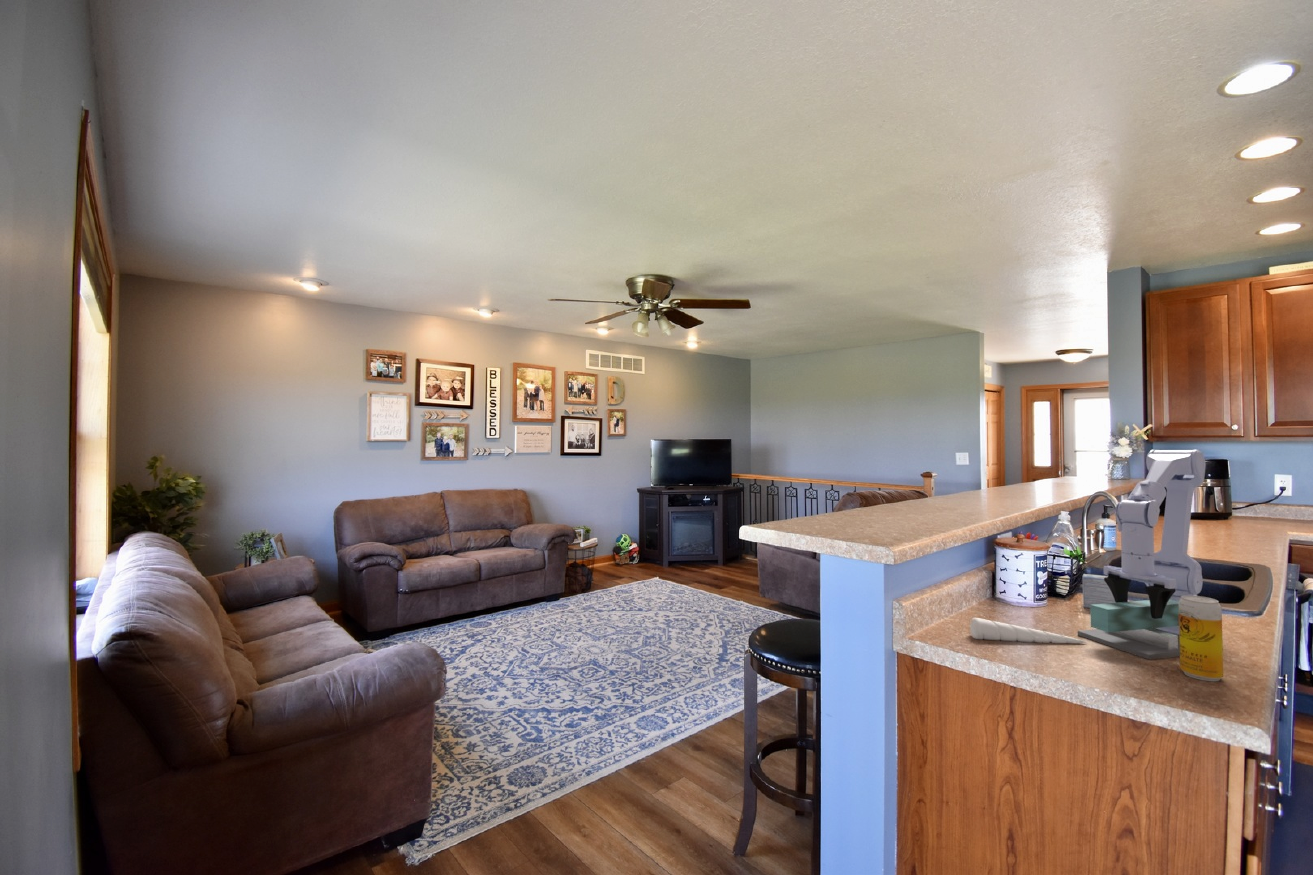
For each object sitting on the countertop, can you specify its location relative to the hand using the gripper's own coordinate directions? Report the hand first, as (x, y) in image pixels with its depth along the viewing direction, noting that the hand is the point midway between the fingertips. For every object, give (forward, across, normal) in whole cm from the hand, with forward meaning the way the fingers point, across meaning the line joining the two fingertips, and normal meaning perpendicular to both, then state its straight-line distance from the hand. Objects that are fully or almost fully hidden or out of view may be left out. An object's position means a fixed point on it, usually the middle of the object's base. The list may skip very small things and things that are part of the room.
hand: (1138, 613), depth 128 cm
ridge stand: (+7, 0, 0) cm, 7 cm away
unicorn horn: (+7, -8, -23) cm, 26 cm away
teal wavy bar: (+3, 0, 0) cm, 3 cm away
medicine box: (+7, -25, +19) cm, 32 cm away
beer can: (+7, +17, -7) cm, 20 cm away
